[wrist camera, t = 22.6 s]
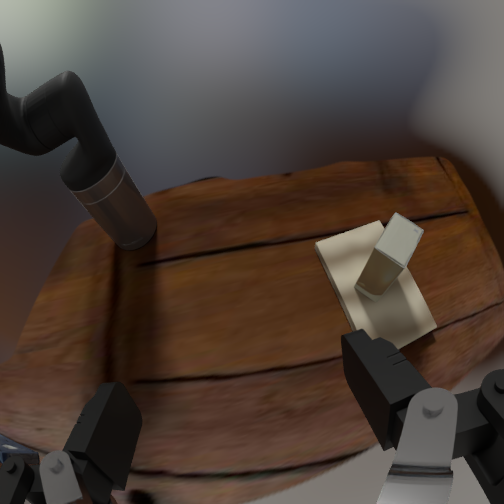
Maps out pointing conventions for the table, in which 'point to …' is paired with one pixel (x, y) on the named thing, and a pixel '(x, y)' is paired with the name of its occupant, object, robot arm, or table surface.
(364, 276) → the skincare box
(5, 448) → the vhs cassette tape
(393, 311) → the birch board
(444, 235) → the table surface
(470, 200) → the table surface
